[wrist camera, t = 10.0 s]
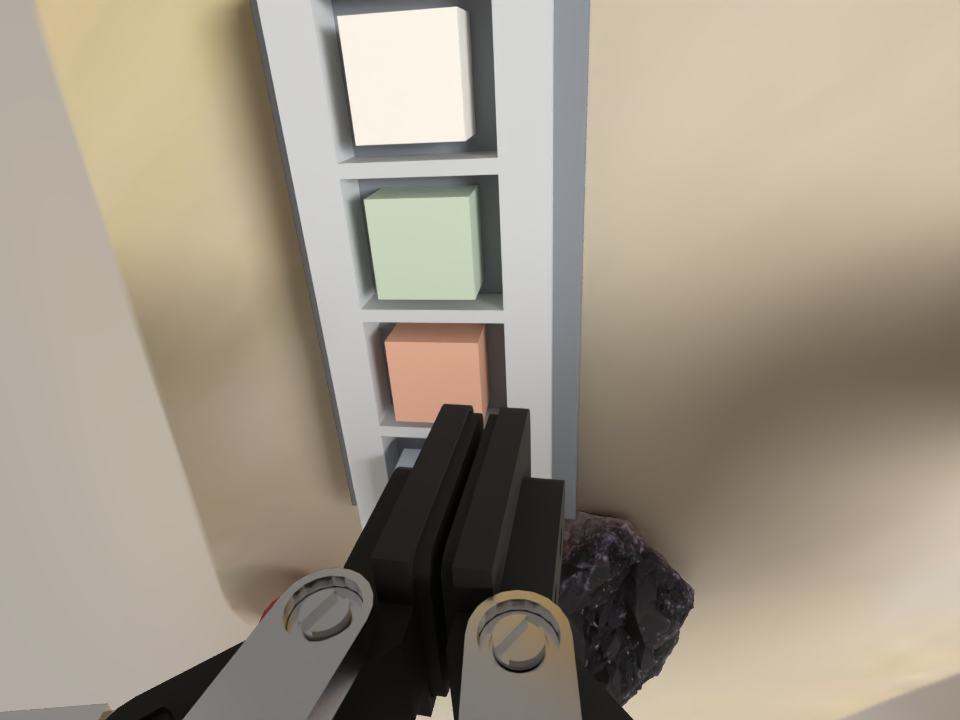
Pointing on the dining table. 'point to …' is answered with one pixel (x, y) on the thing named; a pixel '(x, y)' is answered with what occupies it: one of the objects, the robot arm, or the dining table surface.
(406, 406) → the key terracotta
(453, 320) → the keypad board
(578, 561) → the crystal cluster
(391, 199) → the key sage
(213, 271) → the dining table surface
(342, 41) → the key ivory
